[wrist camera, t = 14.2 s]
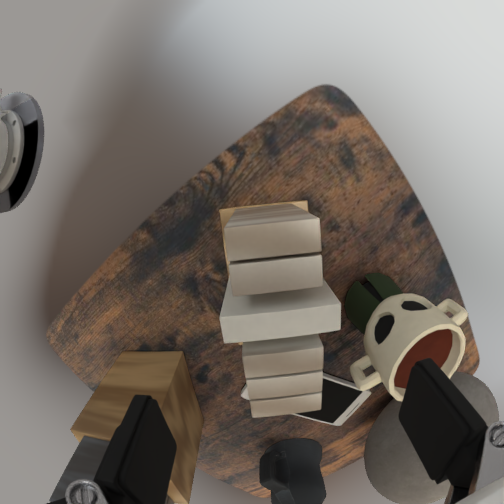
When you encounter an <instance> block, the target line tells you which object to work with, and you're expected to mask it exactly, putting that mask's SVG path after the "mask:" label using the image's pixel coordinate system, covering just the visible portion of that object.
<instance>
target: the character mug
mask: <svg viewBox="0 0 504 504" xmlns="http://www.w3.org/2000/svg"><path fill="white" fill-rule="evenodd" d="M365 277H366V278H367V279H368V281H369V282H368V283H365V284H364V285H363V286H362V285H361V284H360V283H359V282H358V281H356V282H354V284H353V285H352V287H351V288H350V290H349V291H348V293H347V296H346V301H345V305H344V306H345V310H346V313H347V317H348V319H349V320H350V321H351V322H352V323H353V324H354V325H355V326H356V327H357V328H358V329H359V330H360V331H361V332H362V333H363V334H364V346H365V352H366V356H364V357H363V358H361V359H359V360H358V361H356V362H354V363H353V364H352V365H351V366H350V374H351V376H352V378H353V380H354V382H355V384H356V386H357V388H358V389H359V390H361V391H365V390H368V389H370V388H372V387H374V386H375V385H377V384H379V383H380V382H383V384H384V386H385V387H386V389H387V390H388V392H389V393H390V394H391V395H392V396H393V397H394V398H395V399H396V400H397V401H403V397H404V394H405V390H406V387H407V383H408V379H409V375H410V371H411V368H412V367H413V366H414V364H415V363H416V362H417V361H420V360H423V359H426V358H431V359H432V360H433V361H434V362H435V363H436V364H437V365H438V366H439V368H440V369H441V370H442V371H443V372H444V373H445V374H446V375H447V377H448V378H449V379H450V378H451V376H452V375H453V374H454V372H455V371H456V369H457V368H458V366H459V364H460V362H461V359H462V357H463V354H464V352H465V336H464V334H463V332H462V330H461V328H460V327H459V325H461V324H462V323H463V322H464V321H465V320H466V318H467V316H468V313H467V311H466V310H465V309H464V308H463V307H461V306H460V305H459V304H457V303H456V302H454V301H453V300H451V299H446V300H444V301H443V302H442V303H440V304H439V305H438V306H435V305H433V304H432V303H431V302H429V301H428V300H427V299H425V298H424V297H422V296H419V295H416V294H413V293H411V294H403V292H402V291H401V290H400V289H399V287H398V286H397V285H396V284H395V282H394V281H393V280H392V279H391V278H390V277H388V276H386V275H383V274H381V273H372V274H367V275H365ZM448 311H449V312H451V313H452V314H453V315H454V316H453V317H452V318H449V317H448V316H447V315H445V313H446V312H448ZM371 365H373V367H374V369H375V370H376V372H374V373H372V374H371V375H369V376H367V377H365V375H364V373H363V371H362V370H364V369H366V368H367V367H369V366H371Z"/></svg>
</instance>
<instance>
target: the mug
mask: <svg viewBox="0 0 504 504" xmlns="http://www.w3.org/2000/svg"><path fill="white" fill-rule="evenodd" d="M321 459H322V446H321V445H320V444H319V443H318V442H316V441H314V440H312V439H305V438H295V439H289V440H284V441H281V442H278V443H276V444H274V445H272V446H271V447H269V448H268V449H267V450H266V451H265V454H264V455H263V456H262V457H261V458H260V474H259V475H260V484H261V485H262V486H264V487H265V488H267V489H269V490H271V502H272V504H322V503H323V501H324V499H325V497H326V490H325V485H324V481H323V477H322V474H321V470H320V465H319V464H320V462H321Z"/></svg>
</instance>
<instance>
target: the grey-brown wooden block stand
mask: <svg viewBox="0 0 504 504" xmlns="http://www.w3.org/2000/svg"><path fill="white" fill-rule="evenodd" d="M219 212H220V220H221V227H222V235H223V243H224V250H225V257H226V265H227V272H228V279H229V276H230V280H231V287H232V294H233V296H243V295H254V294H263V293H273V292H282V291H290V290H299V289H307V288H315V287H323V270H322V255H321V254H320V253H319V252H321V250H322V249H321V231H320V219H319V218H318V217H316V216H314V215H312V214H310V213H309V212H308V201H307V200H299V201H288V202H277V203H267V204H258V205H248V206H240V207H231V208H223V209H220V210H219ZM238 344H239V345H243V349H242V359H243V366H244V372H245V377H246V384H247V390H248V396H249V399H250V407H251V413H252V417H253V418H255V417H268V416H278V415H287V414H295V413H302V412H309V411H316V410H321V403H322V392H321V391H322V384H323V371H322V369H323V345H322V342H321V340H320V338H319V335H318V333H317V334H310V335H303V336H295V337H287V338H278V339H269V340H259V341H248V342H238Z"/></svg>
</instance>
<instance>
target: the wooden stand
mask: <svg viewBox="0 0 504 504" xmlns="http://www.w3.org/2000/svg"><path fill="white" fill-rule="evenodd" d="M134 395H150V396H151V397H152V398H153V399H156V400H157V402H158V404H159V407H160V409H161V411H162V414H163V416H164V418H165V420H166V422H167V425H168V427H169V429H170V431H171V433H172V435H173V437H174V439H175V441H176V444H177V451H176V455H175V460H174V464H173V469H172V473H171V478H170V482H169V487H168V492H167V496H166V501H165V504H174V503H178V504H189V501H190V495H191V490H192V484H193V478H194V472H195V467H196V461H197V456H198V450H199V445H200V439H201V434H202V428H203V423H204V419H203V416H202V413H201V410H200V407H199V404H198V401H197V398H196V394H195V391H194V388H193V385H192V381H191V378H190V375H189V371H188V368H187V364H186V361H185V357H184V353H183V351H161V352H144V351H122V353H121V354H120V355H119V357H118V358H117V360H116V361H115V363H114V364H113V365H112V367H111V368H110V370H109V371H108V373H107V374H106V376H105V377H104V379H103V380H102V382H101V383H100V385H99V386H98V388H97V389H96V390H95V392H94V393H93V395H92V397H91V398H90V400H89V401H88V403H87V404H86V406H85V407H84V409H83V410H82V412H81V413H80V415H79V417H78V418H77V420H76V421H75V423H74V425H73V426H72V428H71V431H72V433H73V434H74V436H75V437H76V438H77V440H78V441H79V442H80V443H79V445H78V447H77V449H76V451H75V452H74V454H73V456H72V458H71V460H70V462H69V463H68V465H67V467H66V469H65V471H64V473H63V474H62V476H61V478H60V480H59V482H58V484H57V486H56V488H55V490H54V492H53V494H52V496H51V498H50V502H53V501H56V500H59V499H62V498H65V493H66V489H67V487H68V486H69V485H70V484H71V483H72V482H74V481H76V480H79V479H88V480H91V481H93V479H94V477H95V475H96V472H97V470H98V468H99V465H100V463H101V461H102V458H103V456H104V454H105V452H106V449H107V447H108V445H109V443H110V440H111V438H112V436H113V434H114V432H115V430H116V428H117V427H118V426H119V425H121V422H122V420H123V418H124V416H125V414H126V411H127V409H128V407H129V405H130V403H131V401H132V399H133V397H134Z"/></svg>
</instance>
